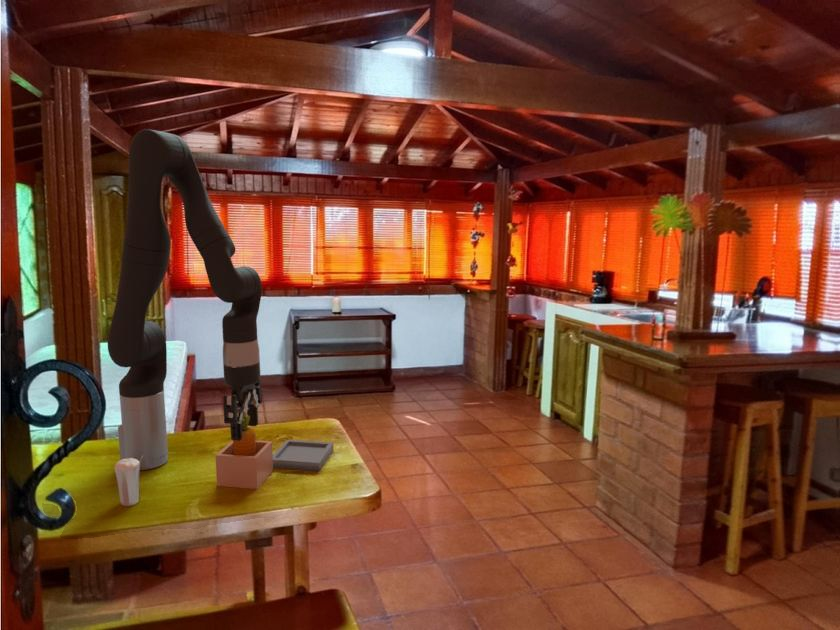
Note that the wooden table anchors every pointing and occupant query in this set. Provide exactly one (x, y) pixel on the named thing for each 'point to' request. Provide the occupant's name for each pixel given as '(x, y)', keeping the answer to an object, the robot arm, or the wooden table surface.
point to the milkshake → (128, 480)
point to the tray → (302, 455)
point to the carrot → (245, 440)
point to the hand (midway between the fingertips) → (245, 432)
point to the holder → (244, 466)
